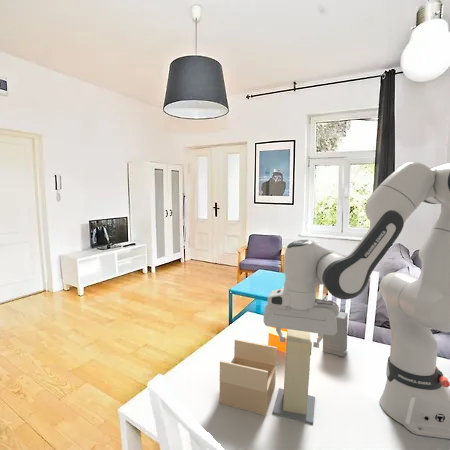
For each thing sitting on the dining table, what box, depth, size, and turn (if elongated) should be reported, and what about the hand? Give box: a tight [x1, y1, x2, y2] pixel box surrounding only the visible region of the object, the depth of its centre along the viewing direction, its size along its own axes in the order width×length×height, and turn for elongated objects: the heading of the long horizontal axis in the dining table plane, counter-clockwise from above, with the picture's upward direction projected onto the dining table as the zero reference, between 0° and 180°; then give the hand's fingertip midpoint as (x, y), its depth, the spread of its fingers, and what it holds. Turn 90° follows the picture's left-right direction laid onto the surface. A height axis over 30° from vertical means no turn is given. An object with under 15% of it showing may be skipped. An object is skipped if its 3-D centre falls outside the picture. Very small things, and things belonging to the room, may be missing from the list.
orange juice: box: [267, 326, 287, 354], centre depth 120 cm, size 8×9×20 cm
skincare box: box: [322, 311, 348, 357], centre depth 117 cm, size 8×7×16 cm
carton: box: [219, 338, 278, 416], centre depth 91 cm, size 14×14×13 cm
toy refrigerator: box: [283, 329, 313, 415], centre depth 86 cm, size 8×7×21 cm
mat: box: [272, 387, 316, 425], centre depth 87 cm, size 11×11×1 cm
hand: (299, 343), depth 85 cm, fingers open, 8 cm apart
